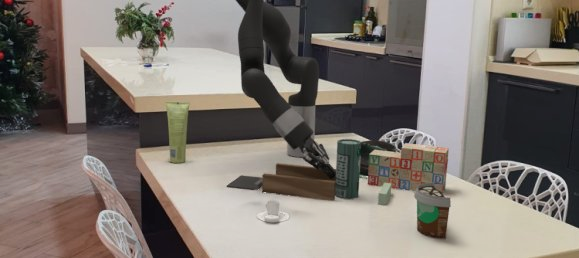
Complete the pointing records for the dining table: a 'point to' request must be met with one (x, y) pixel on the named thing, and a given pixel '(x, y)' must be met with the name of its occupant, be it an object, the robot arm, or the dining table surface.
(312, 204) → the dining table surface
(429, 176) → the stack of blocks
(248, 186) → the mat
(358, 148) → the can
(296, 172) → the lane
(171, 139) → the tube
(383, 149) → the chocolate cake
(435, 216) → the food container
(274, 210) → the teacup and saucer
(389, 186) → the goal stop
